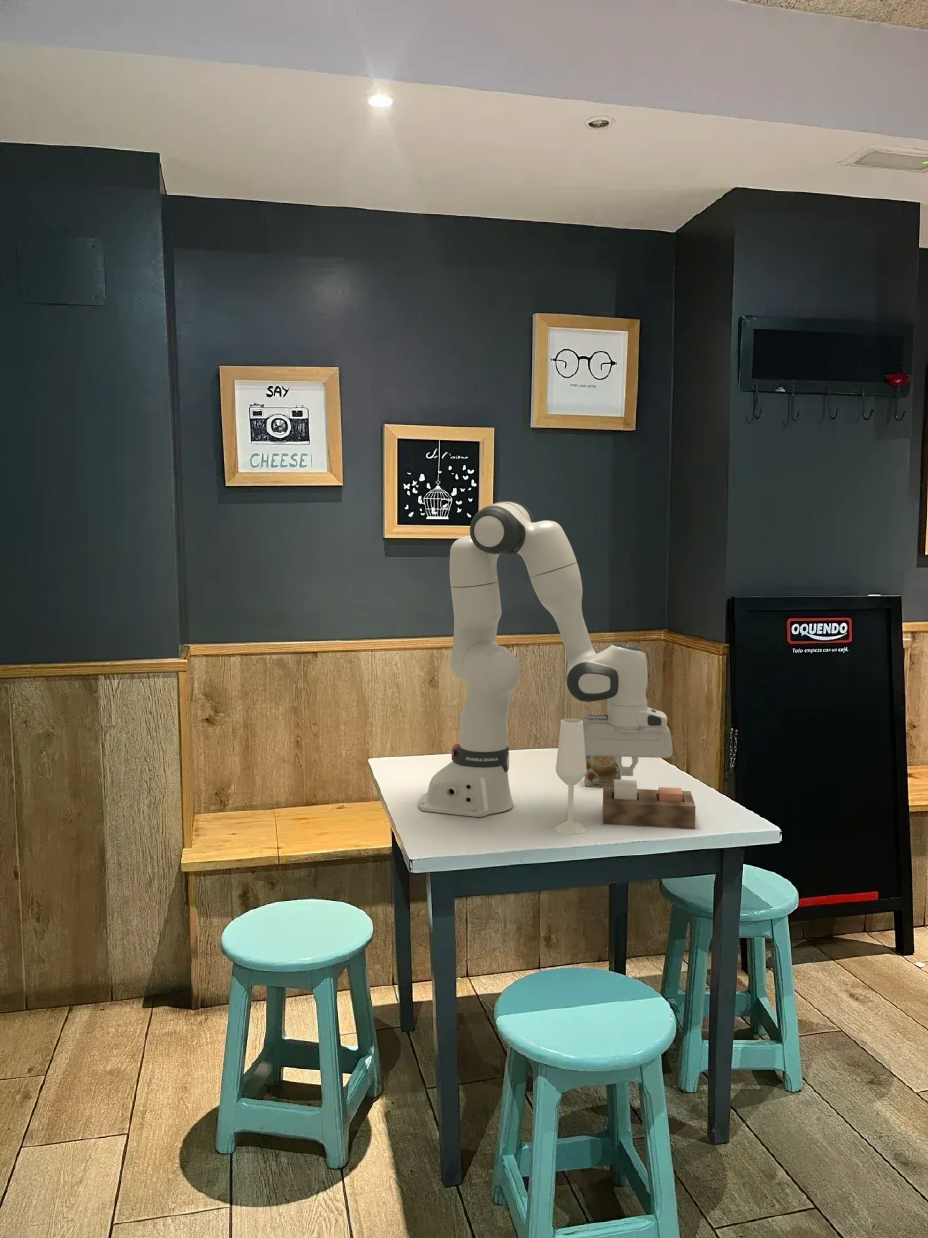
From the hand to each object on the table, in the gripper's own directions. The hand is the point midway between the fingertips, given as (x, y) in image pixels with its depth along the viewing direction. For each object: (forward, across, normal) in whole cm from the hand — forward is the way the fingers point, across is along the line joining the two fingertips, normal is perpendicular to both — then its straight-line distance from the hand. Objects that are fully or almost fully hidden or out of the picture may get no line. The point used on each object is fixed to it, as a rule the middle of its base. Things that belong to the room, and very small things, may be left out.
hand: (626, 775), depth 213 cm
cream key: (+7, 0, 0) cm, 7 cm away
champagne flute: (+10, -12, -10) cm, 19 cm away
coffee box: (+10, -5, +27) cm, 29 cm away
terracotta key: (+8, +10, 0) cm, 13 cm away
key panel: (+10, +5, 0) cm, 11 cm away
